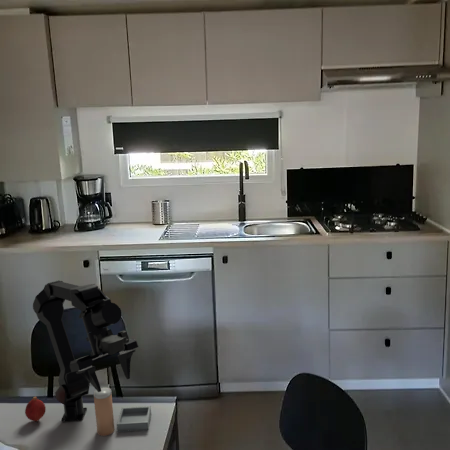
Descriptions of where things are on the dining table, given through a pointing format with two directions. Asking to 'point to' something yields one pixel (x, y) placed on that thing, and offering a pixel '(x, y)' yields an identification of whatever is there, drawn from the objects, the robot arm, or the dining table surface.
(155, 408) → the dining table surface
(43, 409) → the onion
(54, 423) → the dining table surface
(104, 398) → the brown cylinder grey top
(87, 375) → the robot arm
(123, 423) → the tray
